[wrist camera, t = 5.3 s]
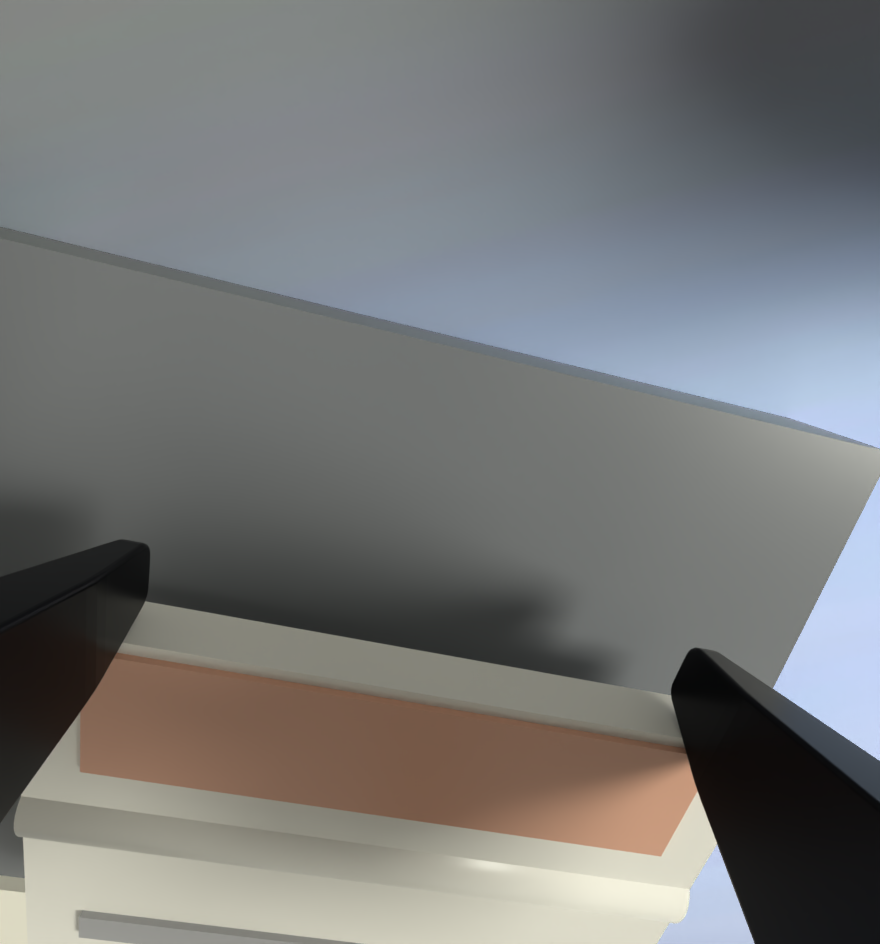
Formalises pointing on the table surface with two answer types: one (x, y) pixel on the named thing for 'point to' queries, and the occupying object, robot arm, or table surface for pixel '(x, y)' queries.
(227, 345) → the switch panel
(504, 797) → the cream slotted panel
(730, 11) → the table surface
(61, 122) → the table surface
